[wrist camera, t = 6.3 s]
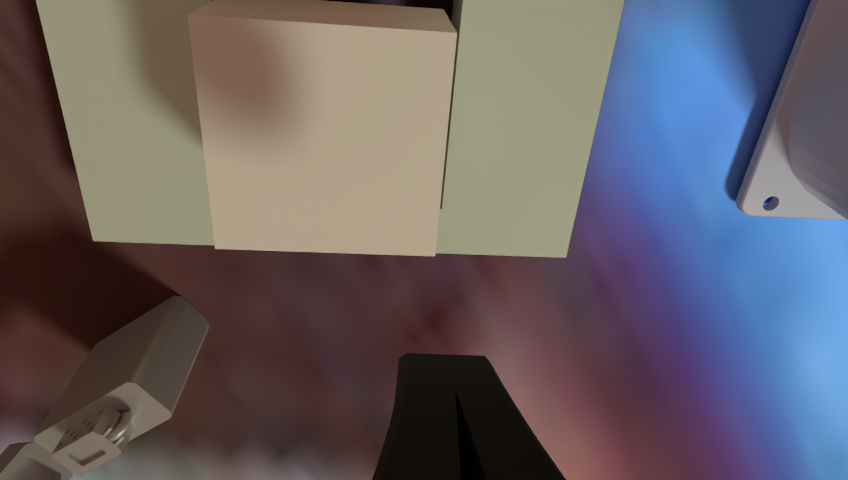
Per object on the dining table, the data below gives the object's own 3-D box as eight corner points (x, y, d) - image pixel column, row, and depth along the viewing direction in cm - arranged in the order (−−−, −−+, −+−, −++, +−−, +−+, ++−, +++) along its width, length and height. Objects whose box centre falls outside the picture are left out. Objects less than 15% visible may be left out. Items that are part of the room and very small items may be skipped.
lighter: (178, 292, 20) (68, 494, 13) (212, 325, 21) (126, 532, 14) (35, 380, 22) (-129, 601, 15) (72, 408, 23) (-67, 630, 16)
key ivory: (443, 8, 14) (456, 32, 11) (427, 200, 16) (435, 256, 14) (226, -7, 13) (187, 14, 11) (243, 192, 16) (215, 248, 13)
